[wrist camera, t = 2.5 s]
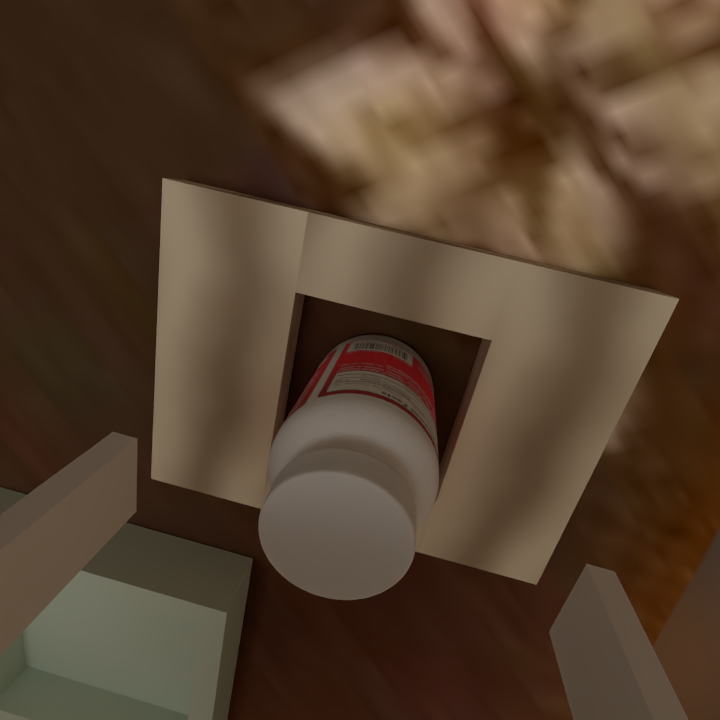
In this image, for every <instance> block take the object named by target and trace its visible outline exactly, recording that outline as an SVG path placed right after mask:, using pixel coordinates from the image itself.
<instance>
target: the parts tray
mask: <svg viewBox="0 0 720 720" xmlns="http://www.w3.org/2000/svg"><path fill="white" fill-rule="evenodd" d="M26 495H27V494H23V493H20V492H16V491H13V490H9V489H6V488H2V487H0V514H2V513H3V512H4V511H6V510H7V509H8V508H10V507H11V506H13V505H14V504H15V503H17V502H18V501H19V500H21V499H22V498H23V497H25V496H26ZM252 562H253V558H250V557H247V556H243V555H239V554H236V553H232V552H229V551H225V550H222V549H218V548H215V547H211V546H208V545H204V544H200V543H197V542H193V541H190V540H186V539H183V538H179V537H176V536H172V535H169V534H165V533H162V532H158V531H154V530H151V529H147V528H144V527H140V526H137V525H133V524H130V523H125V524H124V525H123V526H122V527H121V528H120V529H119V530H118V531H117V532H116V533H115V535H114V536H113V537H112V538H111V539H110V540H109V541H108V542H107V543H106V544H105V545H104V546H103V547H102V548H101V549H100V550H99V552H98V553H97V554H96V555H95V556H94V557H93V558H92V559H91V560H90V561H89V562H88V563H87V564H86V565H85V566H84V567H83V569H82V570H81V571H80V572H79V573H78V574H77V575H76V576H75V577H74V578H73V579H72V580H71V581H70V582H69V583H68V584H67V585H66V587H65V588H64V589H63V590H62V591H61V592H60V593H59V594H58V595H57V596H56V597H55V598H54V599H53V600H52V601H51V602H50V604H49V605H48V606H47V607H46V608H45V609H44V610H43V611H42V612H41V613H40V614H39V615H38V616H37V617H36V618H35V619H34V620H33V622H32V623H31V624H30V625H29V626H28V627H27V628H26V629H25V630H24V631H23V632H22V633H21V634H20V635H19V636H18V637H17V639H16V640H15V641H14V642H13V643H12V644H11V645H10V646H9V647H8V648H7V649H6V650H5V651H4V652H3V653H2V654H1V656H0V720H227V719H228V713H229V707H230V700H231V694H232V688H233V681H234V675H235V669H236V663H237V656H238V650H239V644H240V637H241V631H242V625H243V619H244V612H245V606H246V600H247V593H248V587H249V581H250V575H251V568H252Z"/></svg>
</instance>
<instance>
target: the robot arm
mask: <svg viewBox="0 0 720 720" xmlns="http://www.w3.org/2000/svg"><path fill="white" fill-rule="evenodd" d="M136 495H137V438H133V437H130V436H126V435H123V434H119V433H116V432H112V433H111V434H109V435H108V436H107V437H105V438H104V439H103V440H101V441H100V442H99V443H97V444H96V445H94V446H93V447H92V448H90V449H89V450H88V451H86V452H85V453H84V454H82V455H81V456H79V457H78V458H77V459H75V460H74V461H73V462H71V463H70V464H69V465H67V466H66V467H64V468H63V469H62V470H60V471H59V472H58V473H56V474H55V475H54V476H52V477H51V478H49V479H48V480H47V481H45V482H44V483H43V484H41V485H40V486H38V487H37V488H36V489H34V490H33V491H32V492H30V493H29V494H28V495H26V496H25V497H23V498H22V499H21V500H19V501H18V502H17V503H15V504H14V505H13V506H11V507H10V508H8V509H7V510H6V511H4V512H3V513H2V514H0V656H1V654H2V653H3V652H4V651H5V650H6V649H7V648H8V647H9V646H10V645H11V644H12V643H13V642H14V641H15V640H16V639H17V637H18V636H19V635H20V634H21V633H22V632H23V631H24V630H25V629H26V628H27V627H28V626H29V625H30V624H31V623H32V622H33V620H34V619H35V618H36V617H37V616H38V615H39V614H40V613H41V612H42V611H43V610H44V609H45V608H46V607H47V606H48V605H49V604H50V602H51V601H52V600H53V599H54V598H55V597H56V596H57V595H58V594H59V593H60V592H61V591H62V590H63V589H64V588H65V587H66V585H67V584H68V583H69V582H70V581H71V580H72V579H73V578H74V577H75V576H76V575H77V574H78V573H79V572H80V571H81V570H82V569H83V567H84V566H85V565H86V564H87V563H88V562H89V561H90V560H91V559H92V558H93V557H94V556H95V555H96V554H97V553H98V552H99V550H100V549H101V548H102V547H103V546H104V545H105V544H106V543H107V542H108V541H109V540H110V539H111V538H112V537H113V536H114V535H115V533H116V532H117V531H118V530H119V529H120V528H121V527H122V526H123V525H124V524H125V523H126V522H127V521H128V520H129V519H130V518H131V517H132V515H133V514H134V513H135V512H136ZM549 633H550V637H551V640H552V644H553V648H554V651H555V655H556V659H557V662H558V666H559V669H560V673H561V677H562V680H563V684H564V688H565V691H566V695H567V699H568V702H569V706H570V709H571V713H572V717H573V720H688V718H687V716H686V714H685V712H684V710H683V708H682V706H681V704H680V702H679V700H678V698H677V696H676V694H675V692H674V690H673V688H672V686H671V684H670V682H669V680H668V678H667V676H666V674H665V672H664V670H663V668H662V666H661V664H660V662H659V660H658V658H657V656H656V654H655V652H654V650H653V648H652V646H651V644H650V642H649V640H648V638H647V635H646V633H645V631H644V629H643V627H642V625H641V623H640V621H639V619H638V617H637V615H636V613H635V611H634V609H633V607H632V605H631V603H630V601H629V599H628V597H627V595H626V593H625V591H624V589H623V587H622V585H621V583H620V581H619V579H618V577H617V575H616V573H615V572H614V571H611V570H607V569H603V568H600V567H596V566H593V565H589V564H586V566H585V568H584V569H583V571H582V573H581V575H580V577H579V578H578V580H577V582H576V584H575V586H574V587H573V589H572V591H571V593H570V595H569V596H568V598H567V600H566V602H565V604H564V605H563V607H562V609H561V611H560V613H559V615H558V616H557V618H556V620H555V622H554V624H553V625H552V627H551V629H550V631H549Z"/></svg>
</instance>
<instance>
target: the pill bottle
mask: <svg viewBox="0 0 720 720" xmlns="http://www.w3.org/2000/svg"><path fill="white" fill-rule="evenodd" d="M268 475H269V482H270V486H271V489H270V491H269V493H268V495H267V497H266V499H265V501H264V503H263V506H262V508H261V511H260V515H259V522H258V528H259V538H260V542H261V545H262V548H263V550H264V552H265V554H266V556H267V558H268V560H269V561H270V563H271V564H272V565H273V567H274V568H275V569H276V570H277V571H278V572H279V573H280V574H281V575H282V576H283V577H284V578H286V579H287V580H288V581H289V582H291V583H292V584H294V585H295V586H297V587H299V588H301V589H303V590H305V591H307V592H309V593H312V594H314V595H317V596H321V597H325V598H329V599H337V600H356V599H364V598H368V597H371V596H374V595H377V594H380V593H382V592H384V591H386V590H387V589H389V588H391V587H392V586H393V585H395V584H396V583H397V582H398V581H399V580H400V579H401V578H402V577H403V576H404V575H405V573H406V572H407V571H408V569H409V567H410V565H411V563H412V560H413V558H414V554H415V549H416V530H417V529H418V528H419V527H420V526H421V524H422V523H423V522H424V521H425V519H426V518H427V517H428V515H429V513H430V511H431V510H432V507H433V505H434V503H435V500H436V496H437V492H438V486H439V460H438V443H437V430H436V413H435V399H434V389H433V383H432V379H431V375H430V372H429V370H428V368H427V366H426V364H425V363H424V361H423V360H422V359H421V357H420V356H419V355H418V354H417V353H416V352H415V351H414V350H413V349H412V348H410V347H409V346H407V345H406V344H404V343H403V342H401V341H399V340H396V339H394V338H391V337H387V336H381V335H363V336H357V337H354V338H351V339H349V340H346V341H344V342H342V343H341V344H339V345H337V346H336V347H335V348H334V349H333V350H331V351H330V352H329V353H328V355H327V356H326V357H325V358H324V360H323V361H322V362H321V364H320V365H319V367H318V369H317V370H316V372H315V374H314V375H313V377H312V378H311V380H310V382H309V383H308V385H307V386H306V388H305V390H304V391H303V393H302V394H301V396H300V398H299V399H298V401H297V402H296V404H295V405H294V407H293V408H292V410H291V412H290V413H289V415H288V417H287V418H286V420H285V421H284V423H283V424H282V426H281V428H280V429H279V431H278V433H277V435H276V437H275V440H274V442H273V444H272V447H271V451H270V455H269V463H268Z"/></svg>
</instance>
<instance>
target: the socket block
mask: <svg viewBox="0 0 720 720" xmlns="http://www.w3.org/2000/svg"><path fill="white" fill-rule="evenodd" d="M305 295H308V296H312V297H316V298H321V299H325V300H329V301H333V302H337V303H341V304H345V305H349V306H353V307H357V308H361V309H365V310H369V311H374V312H378V313H382V314H386V315H390V316H394V317H398V318H402V319H406V320H410V321H414V322H418V323H422V324H427V325H431V326H435V327H439V328H443V329H447V330H451V331H455V332H459V333H463V334H467V335H471V336H475V337H480V338H482V341H481V344H480V347H479V350H478V353H477V356H476V359H475V362H474V365H473V368H472V371H471V374H470V377H469V380H468V383H467V386H466V389H465V391H464V394H463V397H462V400H461V403H460V406H459V409H458V412H457V415H456V418H455V421H454V424H453V427H452V430H451V433H450V436H449V439H448V442H447V445H446V448H445V451H444V454H443V457H442V460H441V463H440V466H439V486H438V492H437V496H436V500H435V503H434V505H433V507H432V510H431V511H430V513H429V515H428V517H427V518H426V519H425V521H424V522H423V523H422V524H421V526H420V527H419V528H418V529H417V530H416V549H415V551H416V552H420V553H423V554H427V555H430V556H434V557H438V558H441V559H445V560H449V561H452V562H456V563H459V564H463V565H467V566H470V567H474V568H478V569H481V570H485V571H489V572H492V573H496V574H499V575H503V576H507V577H510V578H514V579H518V580H521V581H525V582H528V583H532V584H536V585H537V583H538V581H539V579H540V577H541V575H542V573H543V571H544V569H545V567H546V565H547V563H548V561H549V559H550V557H551V555H552V553H553V551H554V549H555V547H556V545H557V543H558V541H559V539H560V537H561V535H562V533H563V531H564V529H565V527H566V525H567V523H568V521H569V519H570V517H571V515H572V513H573V511H574V509H575V507H576V505H577V503H578V501H579V499H580V497H581V495H582V493H583V491H584V489H585V487H586V485H587V483H588V481H589V479H590V477H591V475H592V473H593V471H594V469H595V467H596V465H597V463H598V461H599V459H600V457H601V455H602V453H603V451H604V449H605V447H606V445H607V443H608V441H609V439H610V437H611V435H612V433H613V431H614V429H615V427H616V425H617V423H618V421H619V419H620V417H621V415H622V413H623V411H624V409H625V407H626V405H627V403H628V401H629V399H630V397H631V395H632V393H633V391H634V389H635V387H636V385H637V383H638V381H639V379H640V377H641V375H642V373H643V371H644V369H645V367H646V365H647V363H648V361H649V359H650V357H651V355H652V353H653V351H654V349H655V347H656V345H657V343H658V341H659V339H660V337H661V335H662V333H663V331H664V329H665V327H666V325H667V323H668V321H669V319H670V317H671V315H672V313H673V311H674V309H675V307H676V305H677V303H678V301H679V299H678V298H675V297H672V296H670V295H667V294H664V293H662V292H659V291H657V290H654V289H649V288H645V287H641V286H636V285H632V284H628V283H624V282H619V281H615V280H611V279H607V278H602V277H598V276H594V275H589V274H585V273H581V272H577V271H572V270H568V269H564V268H560V267H555V266H551V265H547V264H542V263H538V262H534V261H530V260H525V259H521V258H517V257H512V256H508V255H504V254H500V253H495V252H491V251H487V250H483V249H478V248H474V247H470V246H465V245H461V244H457V243H453V242H448V241H444V240H440V239H435V238H431V237H427V236H423V235H418V234H414V233H410V232H406V231H401V230H397V229H393V228H388V227H384V226H380V225H376V224H371V223H367V222H363V221H358V220H354V219H350V218H346V217H341V216H337V215H333V214H329V213H324V212H320V211H316V210H311V209H307V208H303V207H299V206H294V205H290V204H286V203H282V202H277V201H273V200H269V199H264V198H260V197H256V196H252V195H247V194H243V193H239V192H234V191H230V190H226V189H222V188H217V187H213V186H209V185H205V184H200V183H196V182H192V181H187V180H178V179H167V178H163V183H162V209H161V235H160V261H159V287H158V313H157V339H156V365H155V391H154V418H153V444H152V470H151V479H154V480H158V481H162V482H165V483H169V484H173V485H176V486H180V487H184V488H187V489H191V490H194V491H198V492H202V493H205V494H209V495H213V496H216V497H220V498H223V499H227V500H231V501H234V502H238V503H242V504H245V505H249V506H252V507H256V508H260V509H261V508H262V506H263V503H264V501H265V499H266V497H267V495H268V493H269V491H270V489H271V486H270V482H269V475H268V463H269V455H270V451H271V447H272V444H273V442H274V440H275V437H276V435H277V433H278V431H279V429H280V428H281V426H282V424H283V423H284V417H285V411H286V405H287V399H288V393H289V387H290V381H291V375H292V369H293V363H294V357H295V351H296V345H297V339H298V333H299V327H300V321H301V315H302V309H303V303H304V297H305Z"/></svg>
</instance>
